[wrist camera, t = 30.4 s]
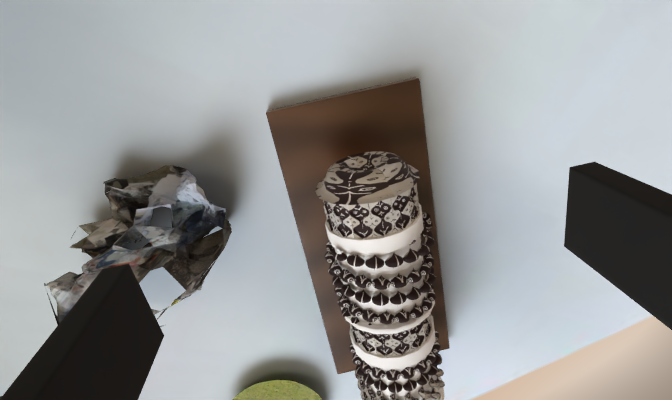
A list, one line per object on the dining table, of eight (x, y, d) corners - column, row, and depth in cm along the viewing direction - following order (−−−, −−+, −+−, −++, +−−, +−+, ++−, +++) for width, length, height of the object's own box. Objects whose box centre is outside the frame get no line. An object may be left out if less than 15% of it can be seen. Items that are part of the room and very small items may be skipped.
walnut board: (445, 340, 45) (449, 348, 44) (336, 366, 45) (337, 374, 44) (415, 76, 33) (419, 78, 32) (266, 110, 33) (265, 112, 32)
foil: (259, 289, 36) (75, 384, 28) (213, 245, 44) (59, 310, 36) (233, 172, 31) (-1, 248, 23) (186, 146, 39) (0, 196, 31)
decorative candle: (469, 400, 37) (453, 156, 27) (388, 452, 34) (336, 200, 24) (412, 342, 45) (384, 135, 35) (342, 380, 42) (289, 166, 32)
